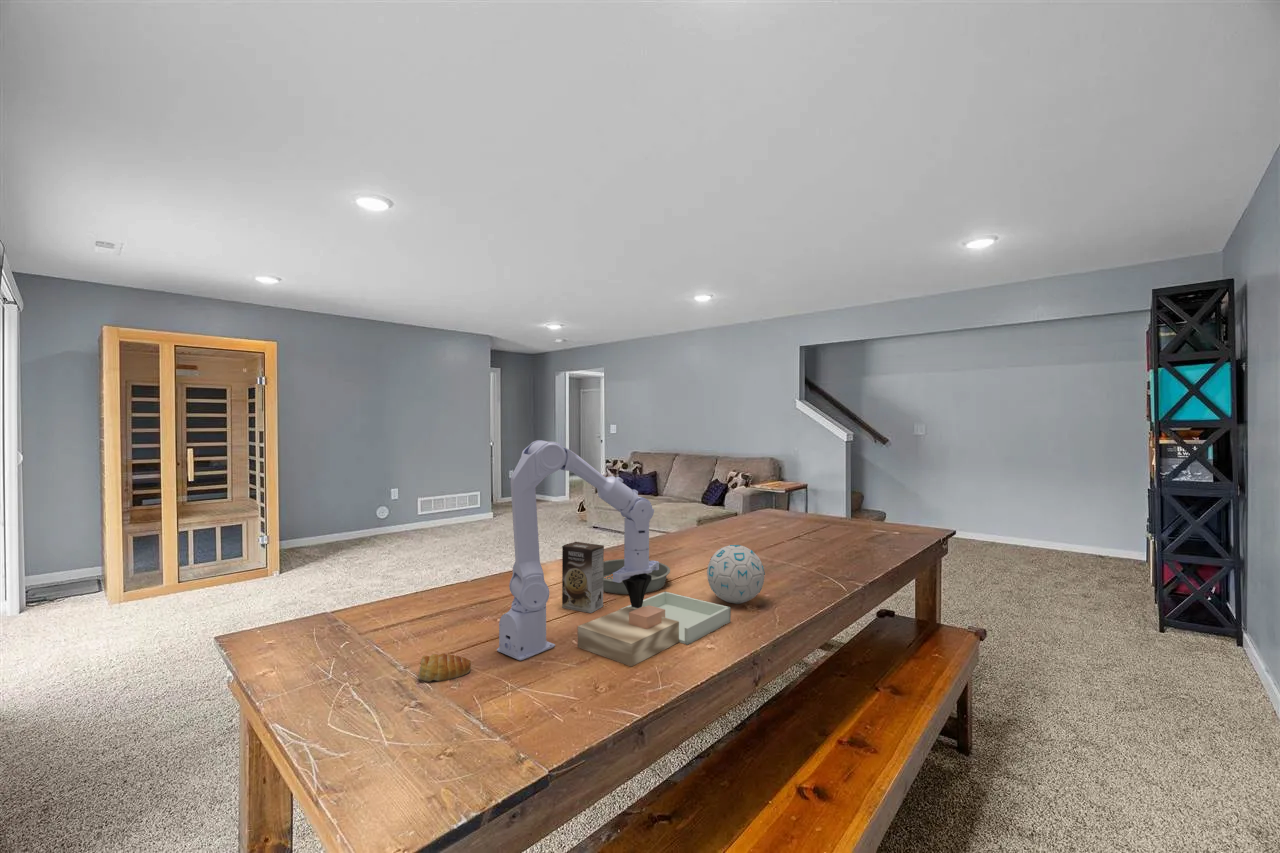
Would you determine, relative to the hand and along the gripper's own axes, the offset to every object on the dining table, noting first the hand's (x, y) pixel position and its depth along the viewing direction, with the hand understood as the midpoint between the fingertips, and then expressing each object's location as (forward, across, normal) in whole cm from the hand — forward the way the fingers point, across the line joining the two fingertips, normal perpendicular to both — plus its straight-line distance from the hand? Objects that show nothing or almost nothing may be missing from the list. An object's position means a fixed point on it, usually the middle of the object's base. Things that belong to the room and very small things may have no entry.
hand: (636, 606), depth 133 cm
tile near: (+1, -6, -7) cm, 9 cm away
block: (+5, -8, -4) cm, 11 cm away
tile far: (+2, +5, 0) cm, 6 cm away
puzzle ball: (+5, +32, -8) cm, 33 cm away
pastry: (+6, -41, +14) cm, 44 cm away
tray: (+5, +9, -4) cm, 11 cm away
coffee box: (+5, +3, +20) cm, 21 cm away
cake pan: (+6, +27, +26) cm, 38 cm away
